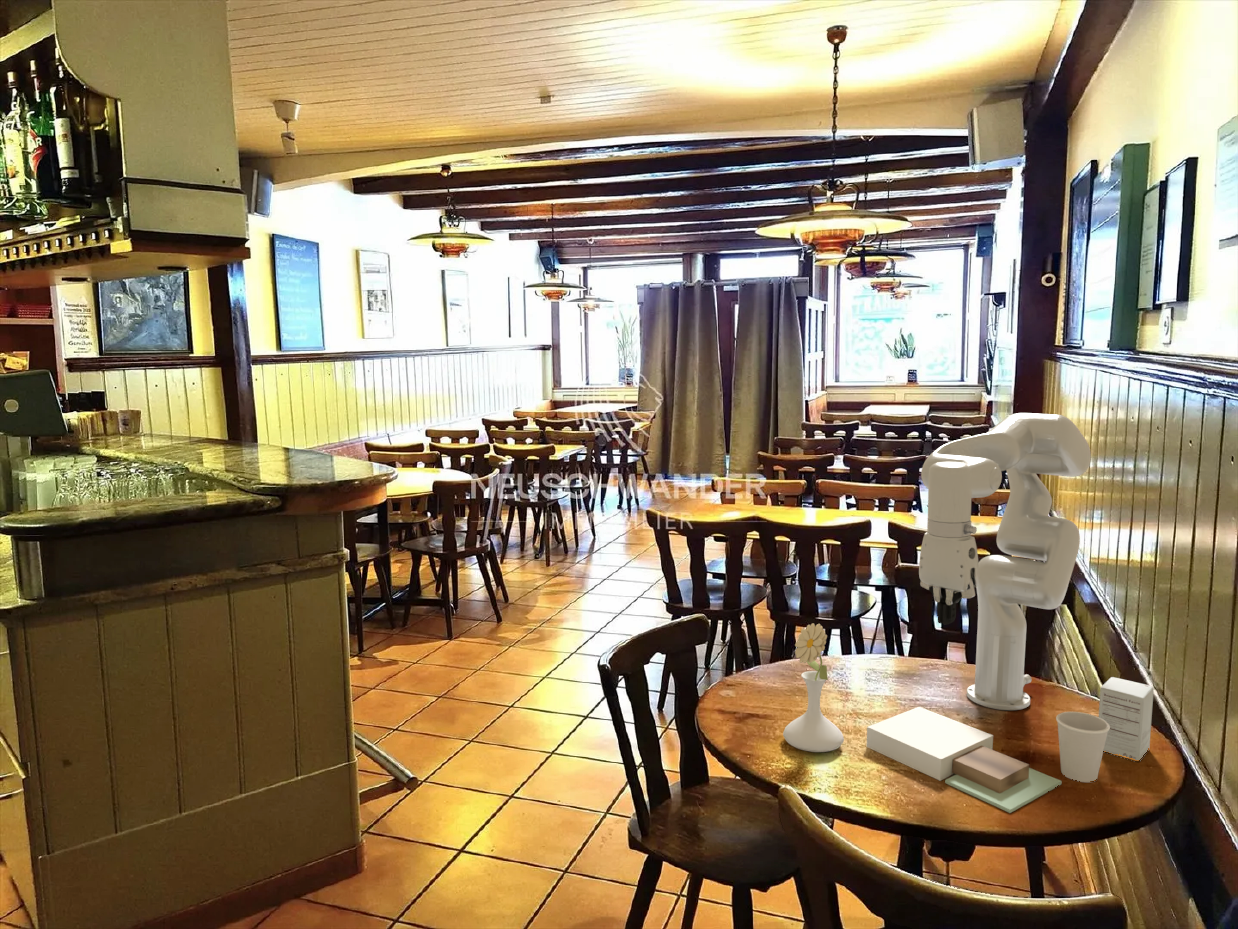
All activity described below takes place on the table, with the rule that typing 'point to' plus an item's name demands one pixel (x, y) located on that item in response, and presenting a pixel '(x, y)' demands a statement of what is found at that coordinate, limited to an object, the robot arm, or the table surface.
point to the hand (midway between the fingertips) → (946, 622)
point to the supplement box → (1126, 716)
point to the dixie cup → (1081, 744)
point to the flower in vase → (813, 698)
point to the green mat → (1008, 790)
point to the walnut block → (990, 769)
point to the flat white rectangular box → (925, 740)
